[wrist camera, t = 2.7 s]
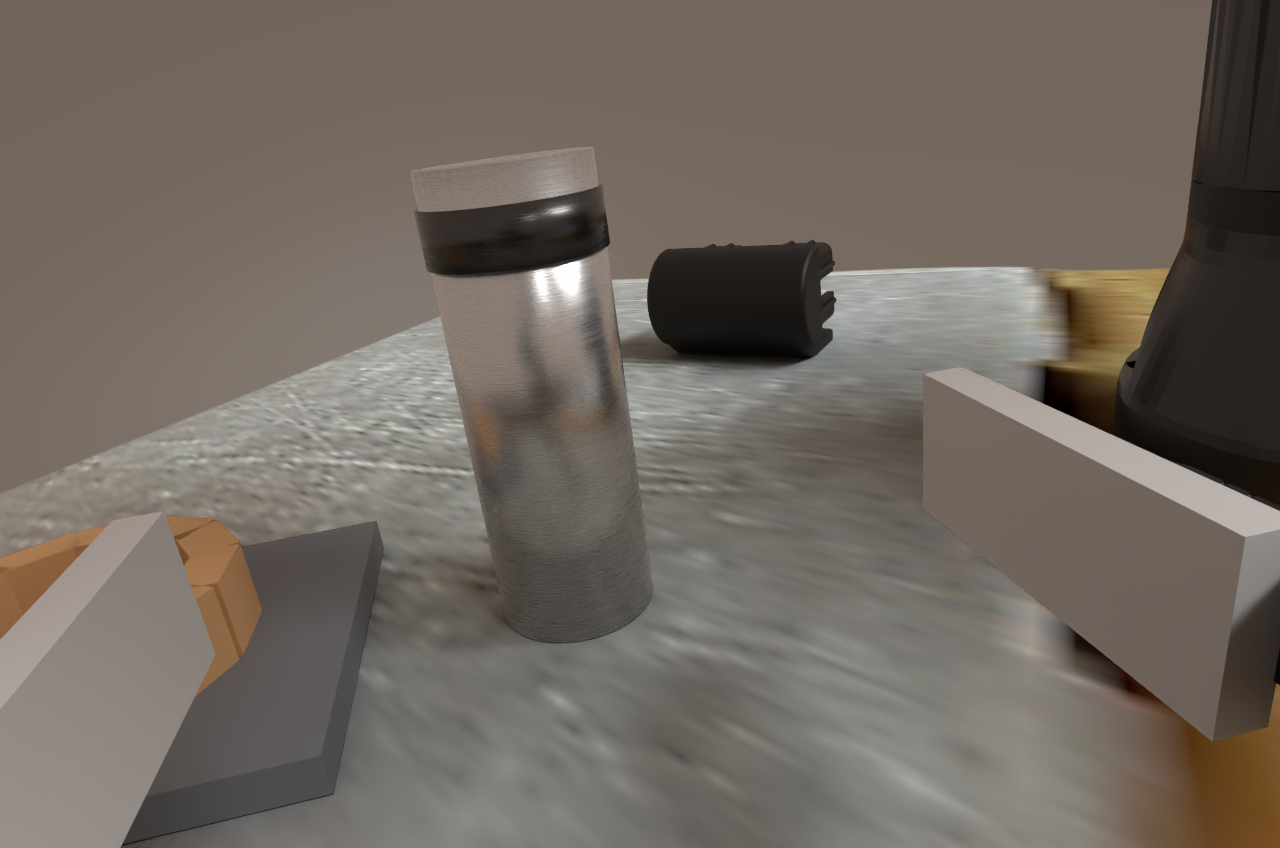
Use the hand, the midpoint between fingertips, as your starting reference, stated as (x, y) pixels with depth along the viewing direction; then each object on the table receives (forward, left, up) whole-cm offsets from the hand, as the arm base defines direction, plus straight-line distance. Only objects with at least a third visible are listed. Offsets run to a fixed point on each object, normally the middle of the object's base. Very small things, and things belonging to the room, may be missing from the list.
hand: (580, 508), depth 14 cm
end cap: (-14, -35, -9) cm, 38 cm away
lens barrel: (0, -11, -8) cm, 14 cm away
